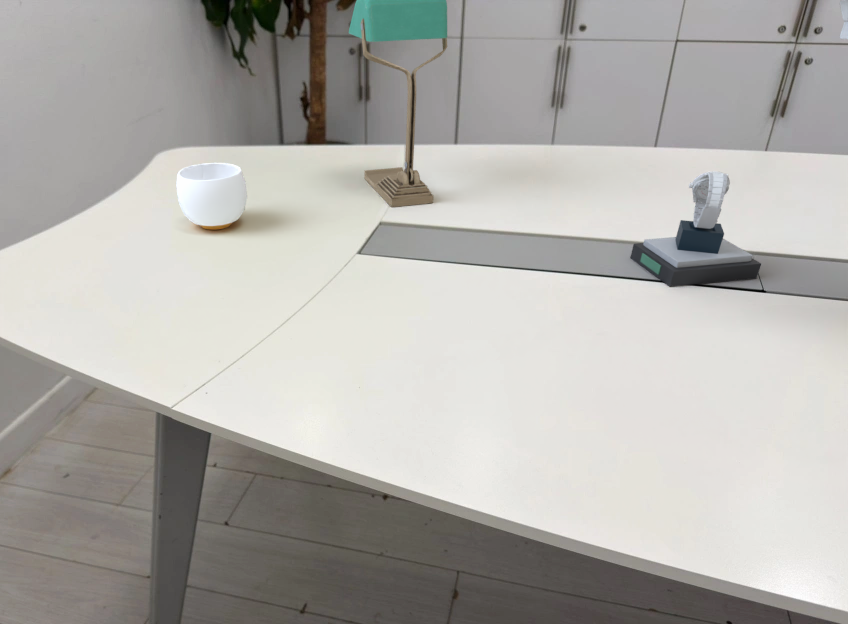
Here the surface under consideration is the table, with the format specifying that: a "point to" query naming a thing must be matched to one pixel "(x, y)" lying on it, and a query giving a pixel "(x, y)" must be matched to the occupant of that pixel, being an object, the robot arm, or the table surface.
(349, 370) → the table surface
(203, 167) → the cup
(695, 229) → the watch
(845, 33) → the robot arm
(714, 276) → the scale
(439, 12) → the banker's lamp
